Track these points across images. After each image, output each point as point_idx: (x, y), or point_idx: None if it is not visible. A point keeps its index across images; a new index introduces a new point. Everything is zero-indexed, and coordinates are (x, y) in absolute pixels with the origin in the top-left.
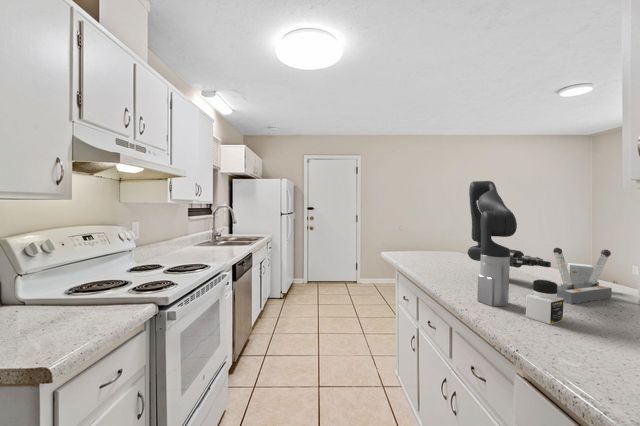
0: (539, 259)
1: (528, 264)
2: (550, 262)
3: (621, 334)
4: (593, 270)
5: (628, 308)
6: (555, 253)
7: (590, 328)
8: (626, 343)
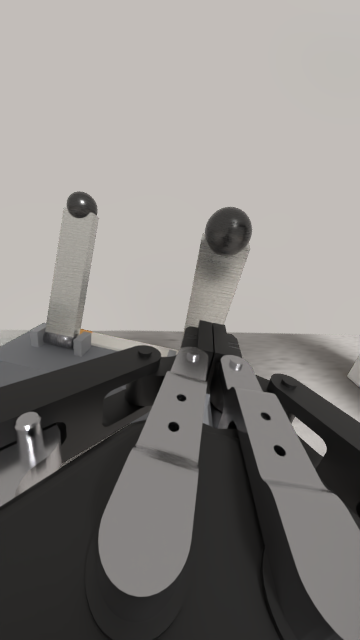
0: (201, 352)
1: (311, 448)
2: (201, 321)
3: (289, 338)
4: (81, 286)
5: (134, 334)
6: (247, 250)
7: (317, 355)
8: (309, 336)
